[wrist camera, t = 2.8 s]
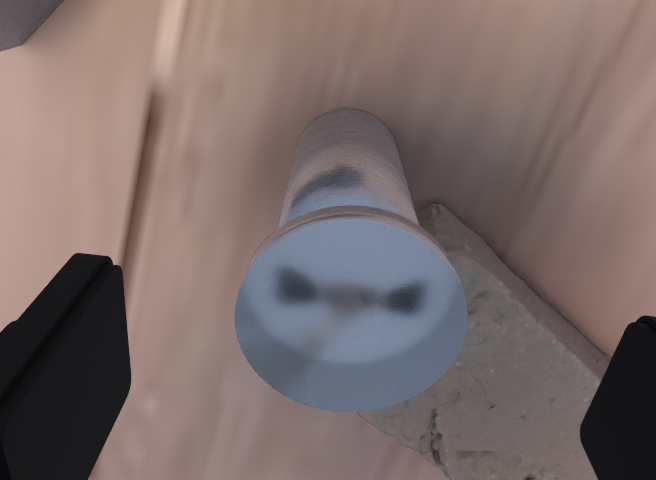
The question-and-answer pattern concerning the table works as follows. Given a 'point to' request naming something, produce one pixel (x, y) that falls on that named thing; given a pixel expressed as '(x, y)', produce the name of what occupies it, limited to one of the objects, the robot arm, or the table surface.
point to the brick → (500, 378)
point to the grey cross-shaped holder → (22, 19)
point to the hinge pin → (350, 278)
